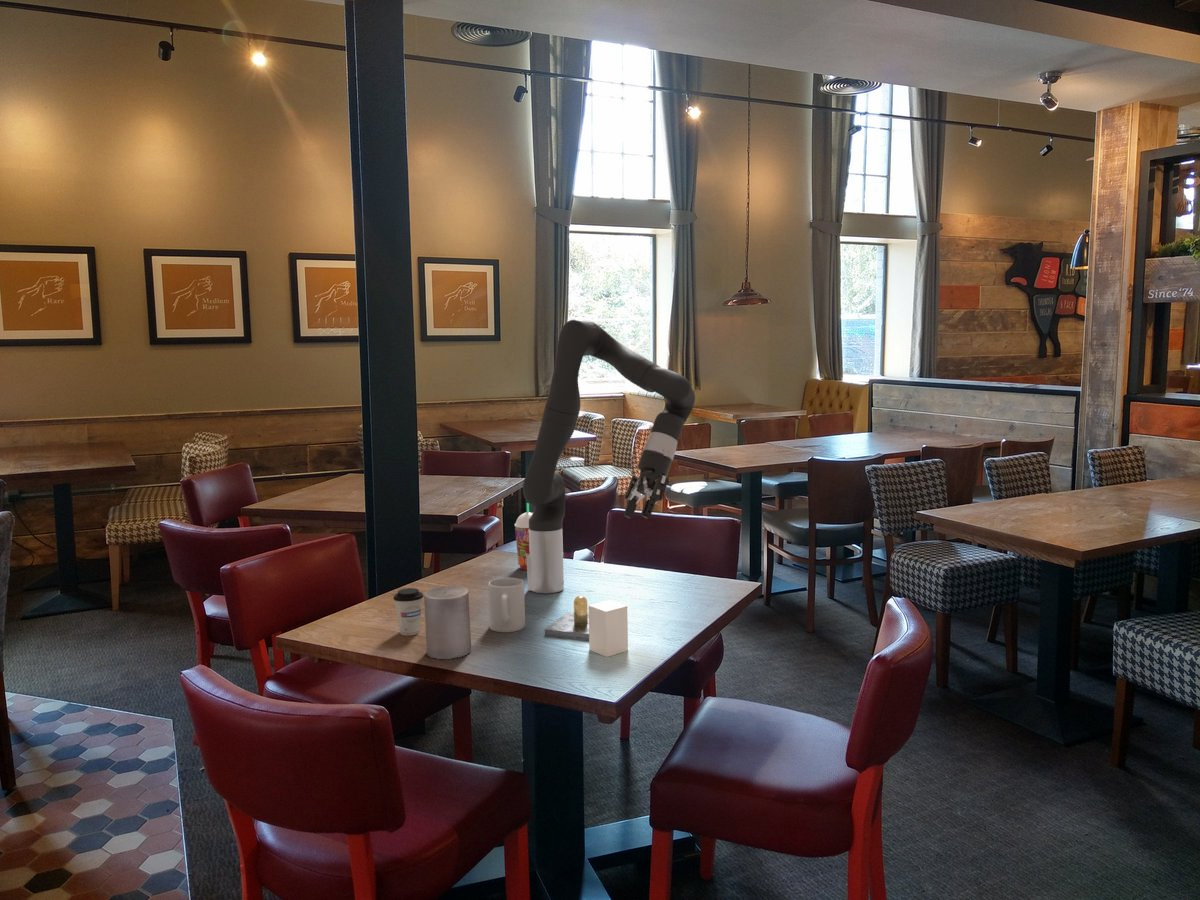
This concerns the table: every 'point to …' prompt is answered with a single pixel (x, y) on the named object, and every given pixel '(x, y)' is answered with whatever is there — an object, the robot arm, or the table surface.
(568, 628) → the base plate
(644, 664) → the table surface
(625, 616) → the white rectangular block
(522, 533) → the smoothie
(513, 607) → the mug
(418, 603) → the coffee cup
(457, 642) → the pillar candle
